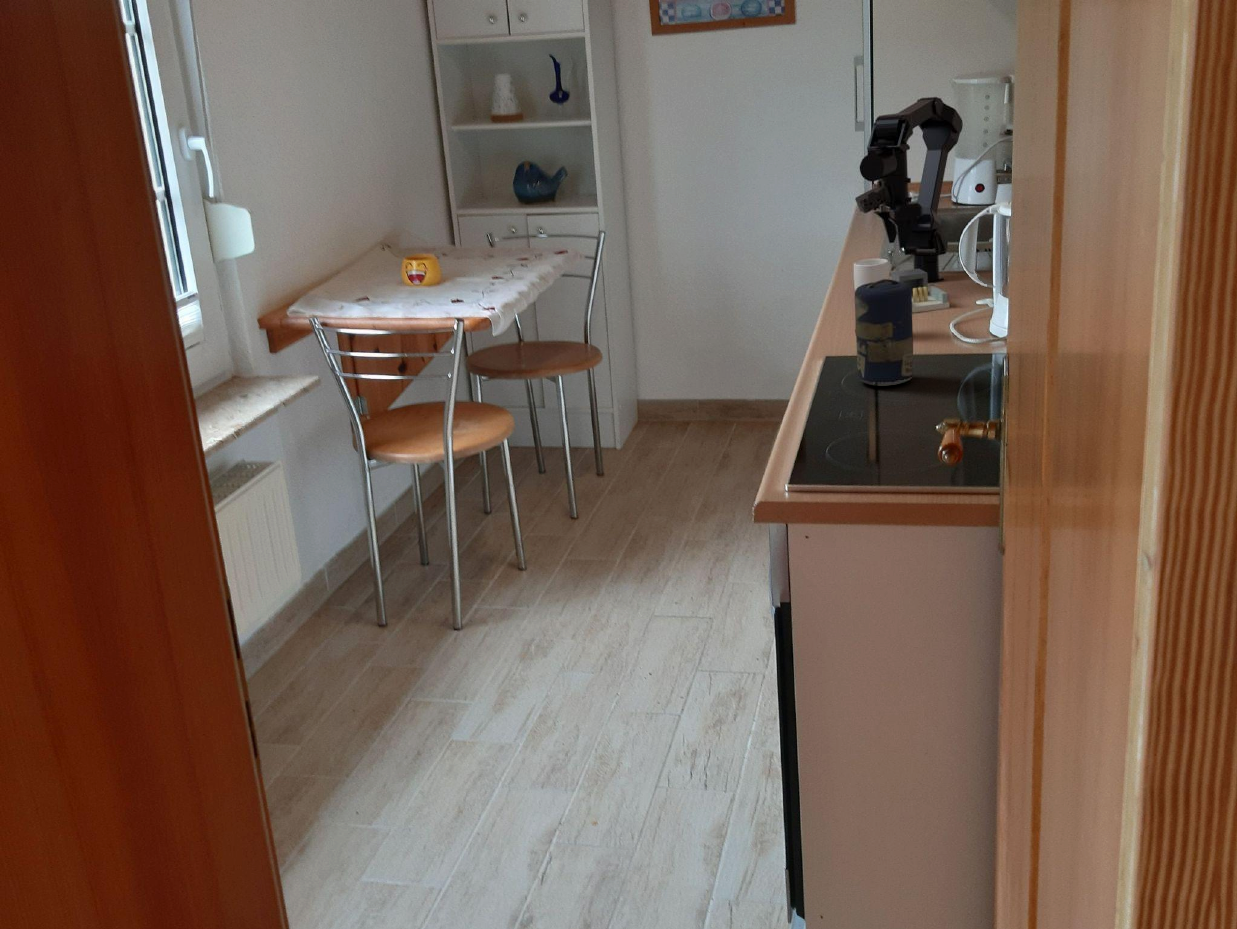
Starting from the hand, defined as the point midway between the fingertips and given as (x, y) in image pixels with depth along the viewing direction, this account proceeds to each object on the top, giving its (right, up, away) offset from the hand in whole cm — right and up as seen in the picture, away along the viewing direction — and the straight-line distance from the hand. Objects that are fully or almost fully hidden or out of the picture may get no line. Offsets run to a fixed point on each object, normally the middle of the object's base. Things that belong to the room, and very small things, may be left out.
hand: (897, 245), depth 267 cm
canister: (-16, -35, -60) cm, 71 cm away
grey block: (+2, -12, -5) cm, 13 cm away
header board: (+2, -14, -6) cm, 15 cm away
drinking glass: (-12, -24, -31) cm, 41 cm away
